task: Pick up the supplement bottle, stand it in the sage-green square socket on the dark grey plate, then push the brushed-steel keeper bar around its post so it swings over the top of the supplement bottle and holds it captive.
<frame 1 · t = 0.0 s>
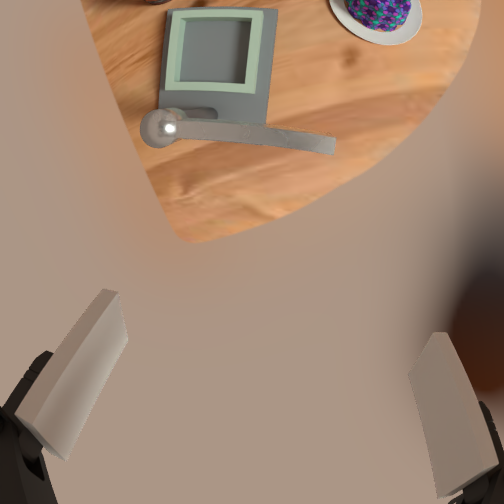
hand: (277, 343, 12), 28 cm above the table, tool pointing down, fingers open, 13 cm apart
socket base: (215, 75, 31), on the table
keeper: (236, 130, 20), point 15 cm above the table, hinge at 0.0°
pudding: (375, 4, 25), on the table
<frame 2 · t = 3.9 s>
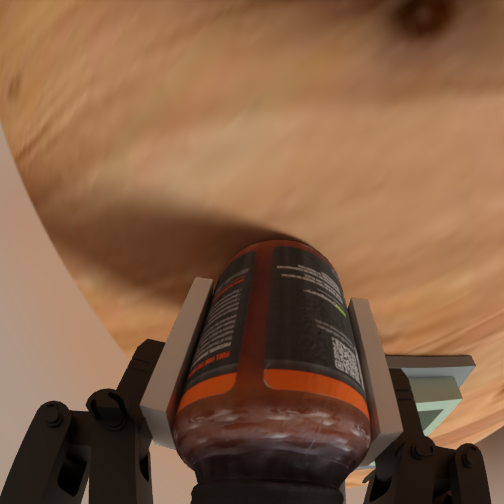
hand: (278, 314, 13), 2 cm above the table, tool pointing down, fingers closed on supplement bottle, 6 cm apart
supplement bottle: (279, 287, 15), on the table, touching gripper
socket base: (350, 427, 21), on the table
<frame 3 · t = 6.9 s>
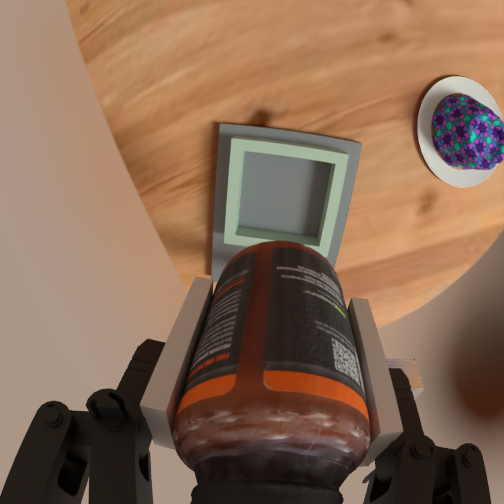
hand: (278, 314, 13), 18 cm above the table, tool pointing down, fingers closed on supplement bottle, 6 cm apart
supplement bottle: (279, 287, 15), point 16 cm above the table, touching gripper
socket base: (279, 218, 31), on the table
keeper: (336, 376, 20), point 15 cm above the table, hinge at 0.0°
pudding: (461, 131, 24), on the table
when the fingers open (4 cm above the table, at t = 9.7 s): supplement bottle drops 1 cm, resting on socket base.
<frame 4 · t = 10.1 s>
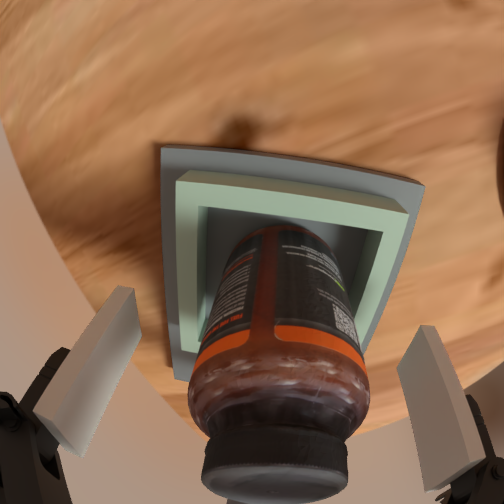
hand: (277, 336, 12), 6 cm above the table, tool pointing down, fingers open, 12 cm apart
supplement bottle: (282, 271, 16), point 1 cm above the table, touching socket base
socket base: (273, 305, 18), on the table
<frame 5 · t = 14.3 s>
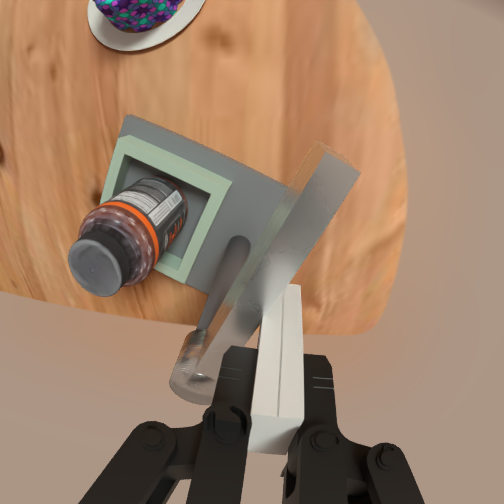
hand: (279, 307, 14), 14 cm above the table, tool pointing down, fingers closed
supplement bottle: (159, 204, 26), point 1 cm above the table, touching socket base
socket base: (192, 216, 27), on the table
keeper: (246, 298, 13), point 15 cm above the table, hinge at 0.0°, touching gripper
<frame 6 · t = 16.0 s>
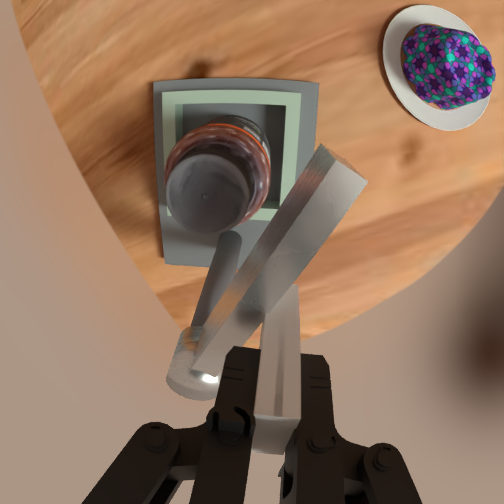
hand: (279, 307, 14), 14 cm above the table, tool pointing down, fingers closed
supplement bottle: (233, 150, 23), point 1 cm above the table, touching socket base
socket base: (232, 183, 26), on the table
keeper: (246, 297, 13), point 15 cm above the table, hinge at 63.0°, touching gripper
pudding: (438, 66, 19), on the table
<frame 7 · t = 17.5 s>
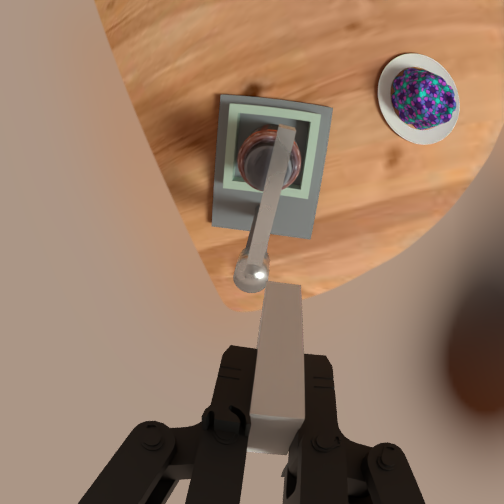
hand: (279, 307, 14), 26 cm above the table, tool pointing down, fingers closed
supplement bottle: (272, 147, 35), point 1 cm above the table, touching socket base
socket base: (268, 170, 37), on the table
keeper: (266, 211, 23), point 15 cm above the table, hinge at 83.9°
pudding: (418, 98, 30), on the table
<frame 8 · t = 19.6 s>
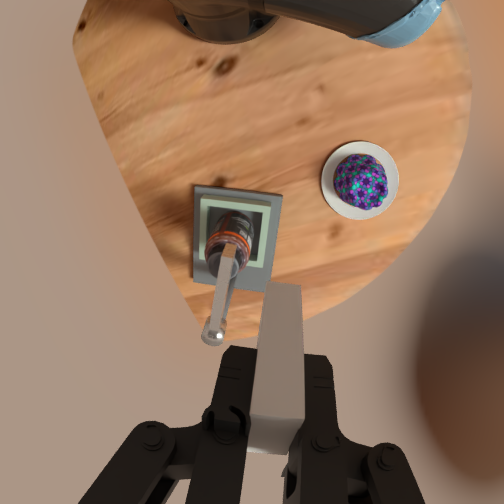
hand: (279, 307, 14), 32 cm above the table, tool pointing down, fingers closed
supplement bottle: (235, 228, 47), point 1 cm above the table, touching socket base
socket base: (234, 243, 49), on the table
keeper: (220, 299, 36), point 15 cm above the table, hinge at 83.9°
pudding: (360, 180, 42), on the table
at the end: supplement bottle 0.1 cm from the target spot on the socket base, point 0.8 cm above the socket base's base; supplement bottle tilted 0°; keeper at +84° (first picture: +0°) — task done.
